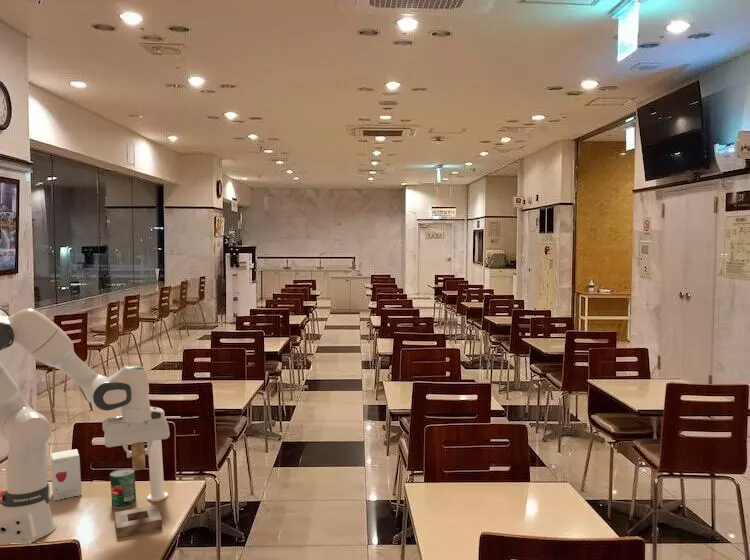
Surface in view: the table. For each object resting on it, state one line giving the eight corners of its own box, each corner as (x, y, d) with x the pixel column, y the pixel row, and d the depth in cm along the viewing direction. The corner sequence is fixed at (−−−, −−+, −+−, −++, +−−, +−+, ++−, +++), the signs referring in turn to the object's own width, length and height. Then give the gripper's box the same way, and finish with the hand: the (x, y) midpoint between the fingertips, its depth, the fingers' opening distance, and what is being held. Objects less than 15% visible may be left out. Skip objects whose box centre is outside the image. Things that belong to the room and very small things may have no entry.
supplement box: (54, 501, 231) (51, 459, 230) (52, 493, 238) (49, 452, 237) (82, 496, 235) (79, 454, 234) (79, 488, 243) (77, 448, 242)
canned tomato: (106, 507, 224) (104, 475, 223) (121, 498, 231) (119, 467, 231) (127, 509, 222) (125, 476, 221) (141, 499, 230) (139, 468, 229)
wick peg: (133, 470, 215) (131, 443, 215) (132, 467, 219) (130, 440, 218) (146, 468, 217) (144, 441, 217) (144, 465, 221) (143, 438, 220)
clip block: (117, 537, 200) (116, 528, 200) (115, 521, 212) (114, 512, 212) (162, 528, 205) (161, 519, 205) (157, 513, 217) (157, 504, 217)
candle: (142, 499, 230) (138, 428, 228) (158, 492, 236) (154, 423, 234) (157, 502, 226) (153, 430, 225) (172, 495, 233) (168, 425, 231)
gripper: (102, 421, 210) (104, 463, 211) (169, 412, 218) (171, 453, 219) (101, 416, 216) (103, 458, 216) (166, 408, 224) (168, 448, 225)
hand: (138, 455), depth 218 cm, fingers closed on wick peg, 4 cm apart
